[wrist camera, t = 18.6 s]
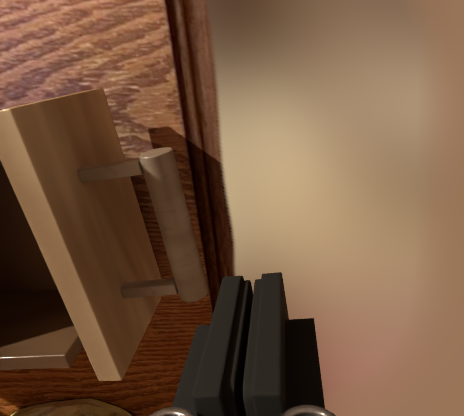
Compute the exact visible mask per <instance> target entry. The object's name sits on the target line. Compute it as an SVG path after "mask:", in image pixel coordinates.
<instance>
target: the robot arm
mask: <svg viewBox="0 0 464 416" xmlns="http://www.w3.org/2000/svg"><path fill="white" fill-rule="evenodd" d="M149 416H335V415H334V414H333V413H331V412H329V411H328V410H326V409H325V405H324V398H323V389H322V381H321V373H320V365H319V357H318V349H317V341H316V332H315V324H314V319H313V318H310V319H293V320H289V318H288V311H287V304H286V298H285V291H284V284H283V279H282V273H281V272H280V273H268V274H262V279H258V280H255V285H254V294H253V291H252V286H251V282H250V280H246V281H244V278H243V276H233V277H224V278H223V279H222V282H221V286H220V290H219V294H218V298H217V301H216V305H215V309H214V313H213V316H212V320H211V324H210V325H199V326H198V327H197V329H196V331H195V334H194V337H193V340H192V343H191V347H190V350H189V353H188V356H187V359H186V363H185V366H184V369H183V372H182V375H181V379H180V382H179V385H178V388H177V391H176V395H175V398H174V401H173V404H172V407H167V408H164V409H161V410H158V411H156V412H154V413H152V414H151V415H149Z"/></svg>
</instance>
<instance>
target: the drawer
mask: <svg viewBox="0 0 464 416" xmlns="http://www.w3.org/2000/svg"><path fill="white" fill-rule="evenodd" d="M143 173H144V177H145V180H146V184H147V187H148V191H149V194H150V197H151V201H152V204H153V208H154V211H155V215H156V218H157V221H158V225H159V228H160V232H161V235H162V239H163V242H164V245H165V249H166V252H167V256H168V259H169V263H170V266H171V270H172V273H173V276H174V278H169V279H161V275H160V272H159V269H158V265H157V262H156V259H155V256H154V252H153V249H152V246H151V243H150V239H149V236H148V233H147V230H146V226H145V223H144V220H143V217H142V213H141V210H140V207H139V204H138V200H137V197H136V194H135V191H134V187H133V184H132V181H131V178H130V177H131V176H138V175H142V174H143ZM207 293H208V286H207V282H206V279H205V275H204V271H203V267H202V263H201V259H200V255H199V251H198V247H197V243H196V239H195V235H194V231H193V227H192V223H191V219H190V215H189V211H188V207H187V203H186V199H185V195H184V191H183V187H182V183H181V179H180V175H179V171H178V167H177V163H176V159H175V155H174V151H173V149H172V148H170V147H164V148H157V149H153V150H150V151H147V152H144V153H142V154H141V155H139V158H137V159H130V160H125V158H124V155H123V152H122V148H121V145H120V142H119V139H118V135H117V132H116V129H115V126H114V122H113V119H112V116H111V112H110V109H109V106H108V103H107V99H106V96H105V93H104V90H103V88H98V89H93V90H88V91H83V92H78V93H74V94H69V95H65V96H60V97H56V98H51V99H47V100H42V101H38V102H33V103H29V104H24V105H20V106H15V107H11V108H6V109H2V110H0V370H16V369H43V368H70V367H71V366H72V364H73V363H74V361H75V360H76V358H77V357H78V355H79V354H80V352H81V351H82V349H83V348H84V349H85V351H86V353H87V356H88V358H89V360H90V362H91V364H92V367H93V369H94V371H95V373H96V376H97V378H98V380H99V381H121V380H122V379H123V377H124V375H125V373H126V371H127V369H128V367H129V365H130V363H131V361H132V358H133V356H134V354H135V352H136V350H137V348H138V346H139V344H140V342H141V340H142V338H143V336H144V333H145V331H146V329H147V327H148V325H149V323H150V321H151V319H152V317H153V315H154V313H155V311H156V308H157V306H158V304H159V302H160V300H161V298H162V296H163V295H176V294H179V297H180V299H181V300H182V301H184V302H196V301H198V300H201V299H202V298H204V297H205V296H206V295H207Z"/></svg>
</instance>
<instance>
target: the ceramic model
mask: <svg viewBox="0 0 464 416" xmlns="http://www.w3.org/2000/svg"><path fill="white" fill-rule="evenodd" d="M11 416H132V415H131V414H130V413H128V412H127V411H125V410H123V409H121V408H119V407H116V406H113V405H112V404H111V405H110V404H108V403H106V402H102V401H99V400H94V399H90V398H87V399H75V400H66V401H57V402H50V403H44V404H39V405H34V406H30V407H27V408H23V409H20V410H18V411H17V412H15V413H13V414H12V415H11Z"/></svg>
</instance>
